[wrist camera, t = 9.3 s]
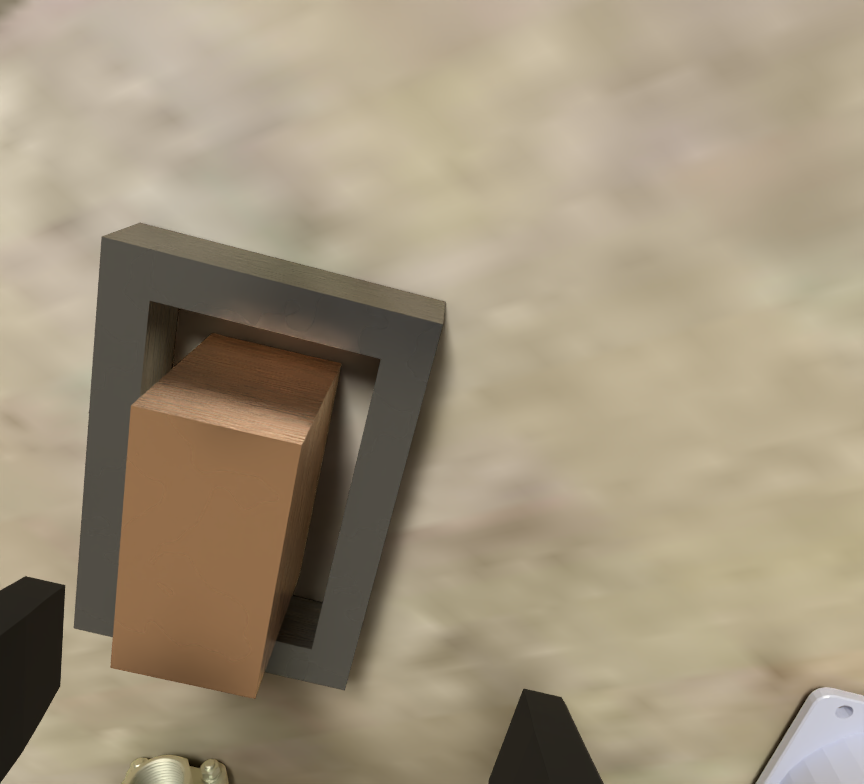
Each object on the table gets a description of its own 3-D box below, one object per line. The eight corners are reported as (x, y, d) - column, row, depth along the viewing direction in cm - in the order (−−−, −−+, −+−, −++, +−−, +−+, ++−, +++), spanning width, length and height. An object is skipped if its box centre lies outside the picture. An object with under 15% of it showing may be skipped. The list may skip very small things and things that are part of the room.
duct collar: (445, 301, 18) (443, 324, 16) (354, 641, 22) (344, 690, 21) (140, 222, 18) (102, 236, 16) (106, 584, 22) (73, 628, 20)
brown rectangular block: (300, 572, 22) (255, 698, 17) (187, 546, 22) (110, 667, 17) (342, 362, 19) (302, 445, 14) (213, 331, 19) (130, 405, 14)
